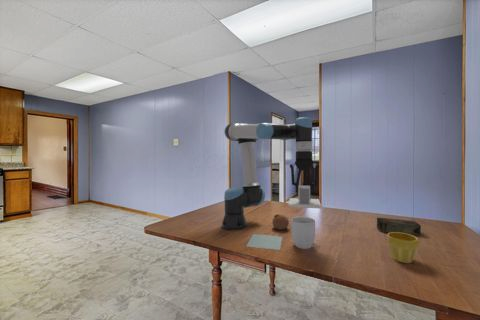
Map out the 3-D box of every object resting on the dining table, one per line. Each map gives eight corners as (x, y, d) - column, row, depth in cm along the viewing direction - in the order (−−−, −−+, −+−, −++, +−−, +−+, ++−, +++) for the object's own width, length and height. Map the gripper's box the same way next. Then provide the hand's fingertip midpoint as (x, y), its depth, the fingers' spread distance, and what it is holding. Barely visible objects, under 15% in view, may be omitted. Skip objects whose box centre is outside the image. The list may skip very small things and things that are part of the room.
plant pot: (381, 254, 96) (381, 232, 96) (403, 252, 97) (403, 231, 97) (400, 266, 86) (400, 241, 86) (424, 264, 87) (425, 240, 86)
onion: (274, 234, 128) (266, 219, 129) (283, 226, 135) (275, 211, 135) (286, 233, 121) (277, 217, 122) (294, 224, 128) (286, 209, 128)
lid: (288, 207, 100) (288, 189, 100) (290, 200, 113) (289, 184, 113) (321, 208, 96) (321, 189, 96) (318, 201, 110) (318, 185, 109)
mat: (246, 247, 105) (246, 246, 105) (253, 235, 121) (253, 234, 121) (280, 250, 101) (279, 249, 101) (282, 237, 116) (282, 236, 116)
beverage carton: (421, 236, 116) (421, 224, 115) (379, 232, 122) (379, 220, 122) (415, 231, 123) (415, 219, 123) (375, 227, 130) (376, 216, 130)
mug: (304, 238, 115) (304, 213, 115) (324, 244, 107) (324, 218, 106) (286, 246, 106) (286, 219, 105) (306, 254, 97) (306, 225, 97)
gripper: (285, 151, 103) (285, 200, 103) (323, 150, 98) (324, 202, 99) (286, 151, 110) (286, 197, 111) (322, 150, 105) (322, 198, 106)
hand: (304, 199), depth 105 cm, fingers closed on lid, 4 cm apart
